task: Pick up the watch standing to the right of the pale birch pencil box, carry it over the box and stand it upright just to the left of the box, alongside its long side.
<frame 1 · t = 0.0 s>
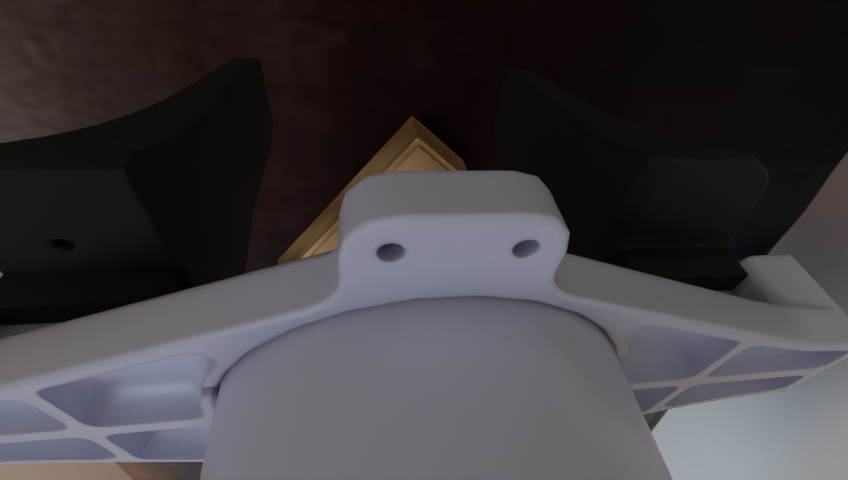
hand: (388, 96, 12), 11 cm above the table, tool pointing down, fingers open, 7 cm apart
pencil box: (365, 212, 27), on the table
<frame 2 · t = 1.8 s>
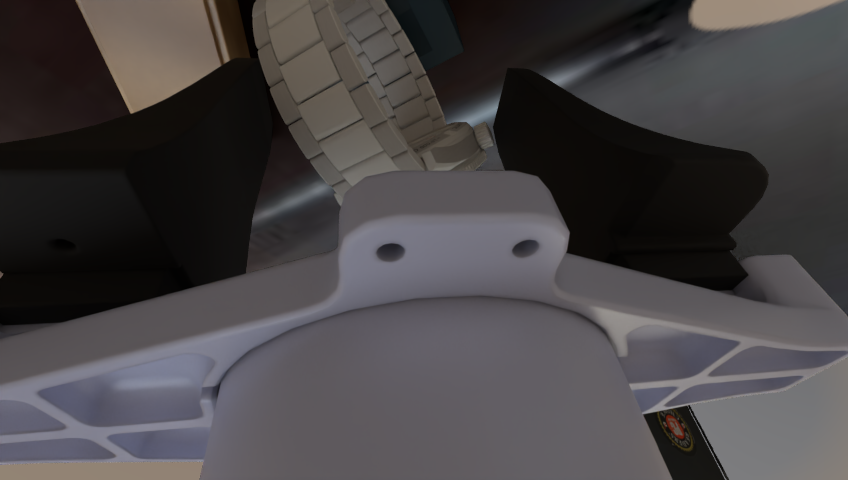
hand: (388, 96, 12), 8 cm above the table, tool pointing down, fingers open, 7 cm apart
router box: (523, 351, 45), on the table, touching arm
watch: (378, 4, 18), on the table
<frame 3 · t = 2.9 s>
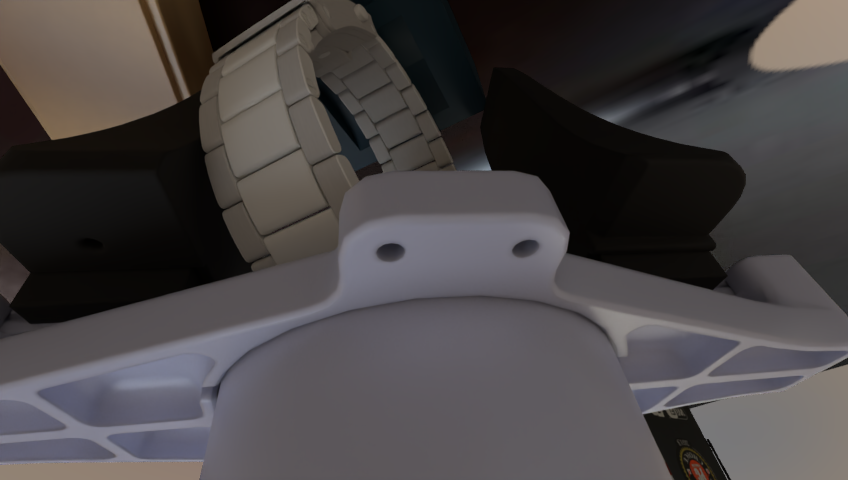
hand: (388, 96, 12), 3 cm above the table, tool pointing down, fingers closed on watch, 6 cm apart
pencil box: (137, 36, 13), on the table
router box: (534, 389, 42), on the table
watch: (381, 46, 15), on the table, touching gripper
when the fingers open (3 cm above the table, at t = 8.3 s): watch stays where it is, on the table.
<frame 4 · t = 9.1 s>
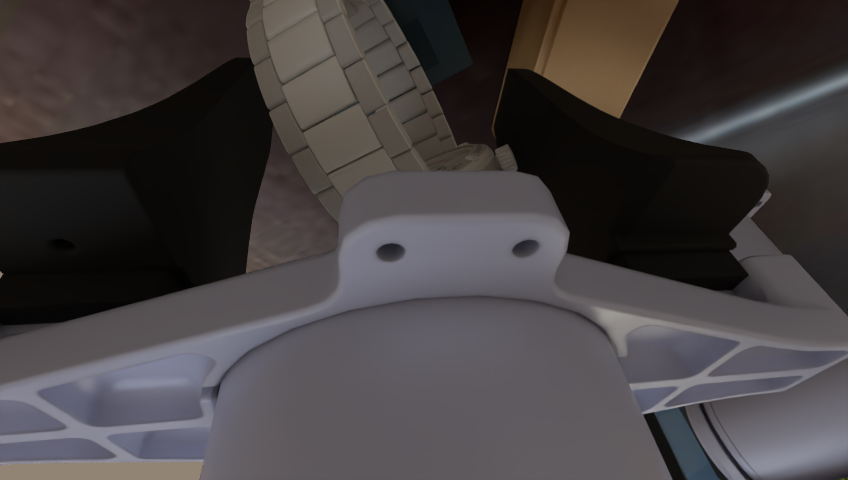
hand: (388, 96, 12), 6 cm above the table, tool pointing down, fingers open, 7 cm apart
router box: (669, 346, 45), on the table
watch: (376, 13, 16), on the table
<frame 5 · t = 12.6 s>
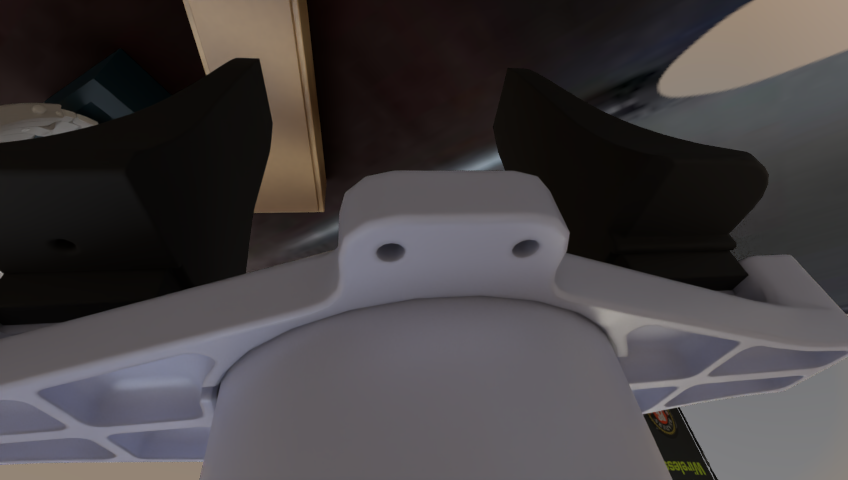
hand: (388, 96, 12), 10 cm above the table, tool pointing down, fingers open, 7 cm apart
pencil box: (272, 81, 22), on the table
router box: (525, 348, 51), on the table
watch: (126, 107, 22), on the table
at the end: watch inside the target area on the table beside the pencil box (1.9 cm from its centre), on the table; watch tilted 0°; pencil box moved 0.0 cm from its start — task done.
